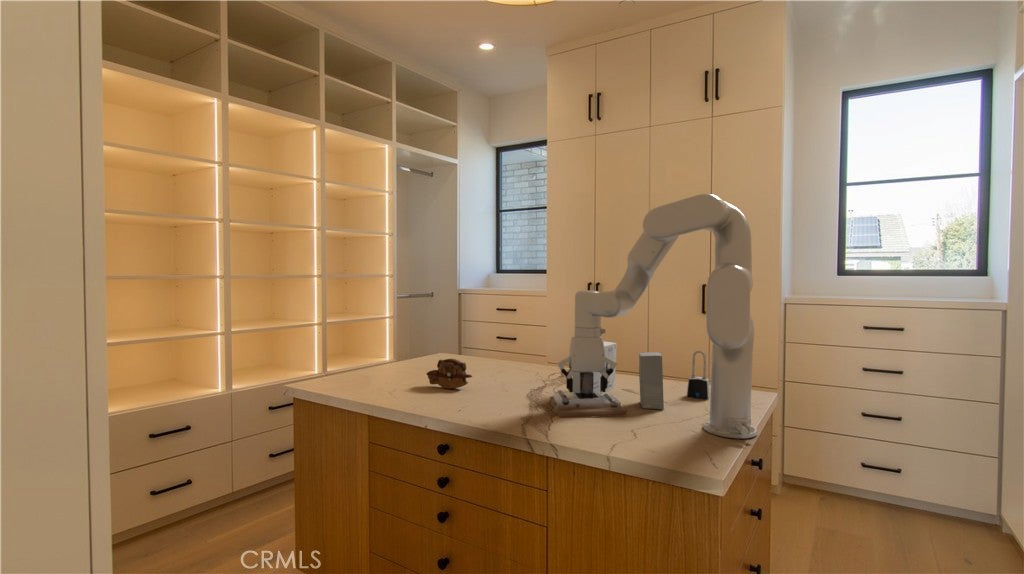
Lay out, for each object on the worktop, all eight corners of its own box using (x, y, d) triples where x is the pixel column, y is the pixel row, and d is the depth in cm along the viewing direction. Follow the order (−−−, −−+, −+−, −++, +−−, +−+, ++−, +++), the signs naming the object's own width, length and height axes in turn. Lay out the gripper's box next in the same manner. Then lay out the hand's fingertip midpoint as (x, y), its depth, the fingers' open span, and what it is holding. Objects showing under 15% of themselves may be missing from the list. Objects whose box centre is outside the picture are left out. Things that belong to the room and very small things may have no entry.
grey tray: (621, 408, 145) (621, 397, 145) (558, 409, 143) (558, 398, 143) (612, 400, 154) (612, 389, 154) (553, 400, 152) (553, 390, 152)
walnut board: (626, 416, 142) (626, 410, 141) (558, 417, 140) (559, 411, 140) (610, 400, 157) (610, 395, 157) (549, 401, 156) (549, 396, 156)
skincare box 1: (586, 401, 157) (587, 350, 156) (571, 398, 160) (571, 348, 160) (616, 388, 174) (617, 342, 173) (602, 385, 177) (602, 340, 177)
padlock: (710, 397, 163) (711, 350, 162) (708, 400, 159) (709, 352, 159) (688, 394, 166) (689, 348, 166) (686, 397, 163) (687, 350, 162)
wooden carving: (423, 388, 171) (423, 358, 171) (429, 385, 176) (429, 356, 175) (469, 392, 167) (469, 361, 166) (474, 388, 171) (474, 359, 171)
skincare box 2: (664, 410, 147) (665, 356, 147) (638, 408, 149) (639, 355, 148) (661, 402, 156) (662, 351, 155) (637, 401, 157) (638, 350, 156)
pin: (594, 405, 147) (595, 374, 146) (580, 405, 146) (581, 374, 146) (591, 401, 151) (591, 371, 150) (578, 401, 150) (578, 371, 150)
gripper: (613, 331, 152) (612, 387, 153) (555, 331, 151) (555, 388, 151) (620, 334, 145) (619, 394, 145) (560, 334, 143) (559, 394, 144)
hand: (586, 391), depth 148 cm, fingers open, 9 cm apart
